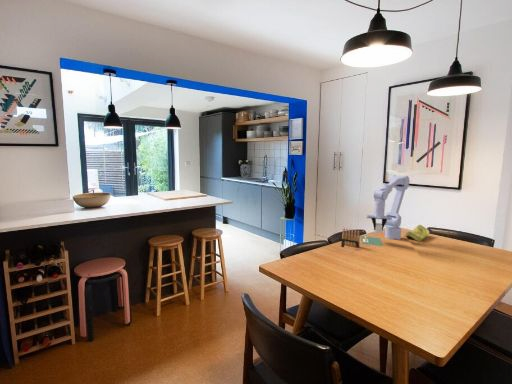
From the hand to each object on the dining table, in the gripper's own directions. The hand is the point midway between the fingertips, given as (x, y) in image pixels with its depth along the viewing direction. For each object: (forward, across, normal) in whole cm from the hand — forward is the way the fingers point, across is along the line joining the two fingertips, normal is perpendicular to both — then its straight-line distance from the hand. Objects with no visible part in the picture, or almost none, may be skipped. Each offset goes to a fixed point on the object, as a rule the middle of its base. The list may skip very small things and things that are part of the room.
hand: (378, 230), depth 184 cm
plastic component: (+10, +28, +26) cm, 39 cm away
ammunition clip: (+9, -16, -14) cm, 24 cm away
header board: (+9, -4, +1) cm, 10 cm away
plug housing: (+1, 0, 0) cm, 1 cm away
